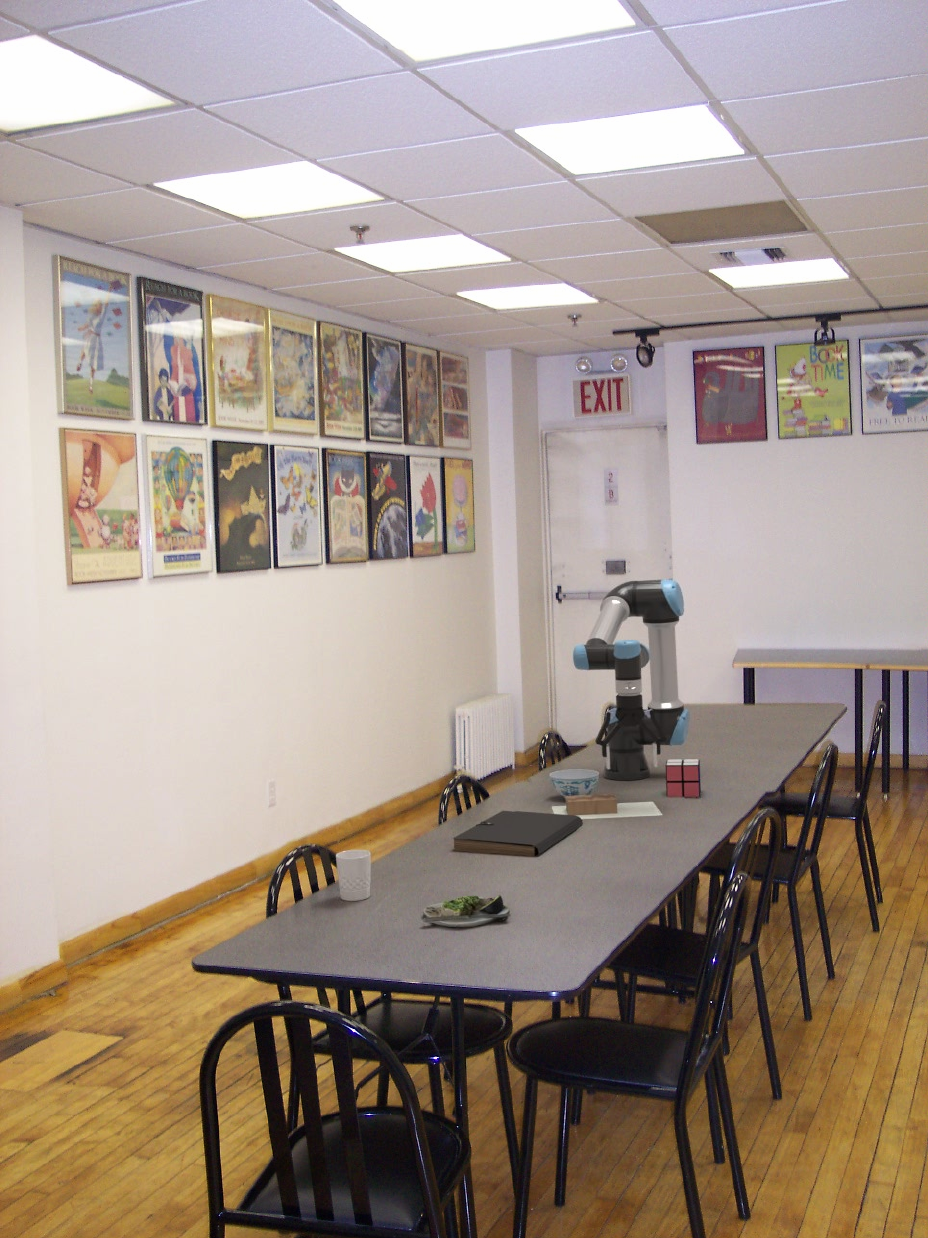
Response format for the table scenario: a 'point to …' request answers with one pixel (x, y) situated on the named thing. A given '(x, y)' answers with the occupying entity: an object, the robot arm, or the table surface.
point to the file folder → (517, 833)
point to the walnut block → (591, 804)
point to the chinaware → (574, 781)
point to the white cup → (354, 874)
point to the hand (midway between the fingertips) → (631, 767)
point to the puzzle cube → (683, 778)
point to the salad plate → (467, 911)
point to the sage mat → (619, 811)
